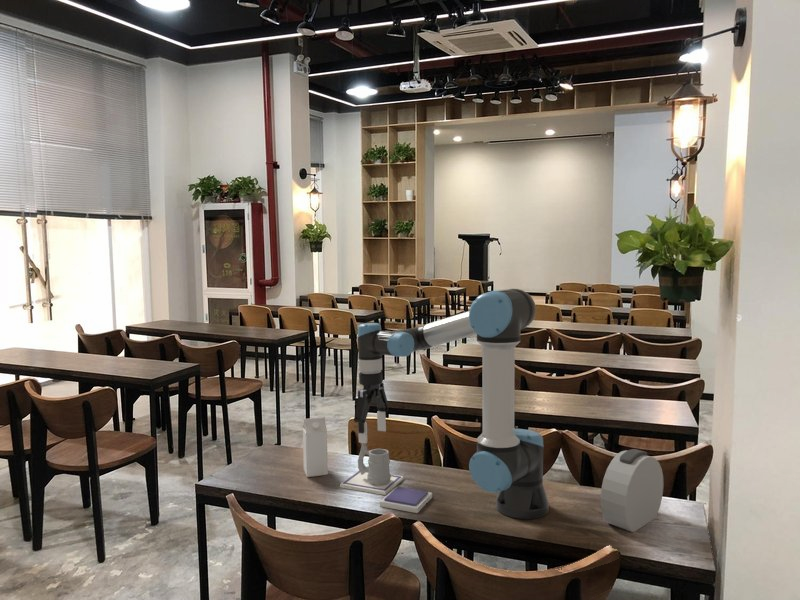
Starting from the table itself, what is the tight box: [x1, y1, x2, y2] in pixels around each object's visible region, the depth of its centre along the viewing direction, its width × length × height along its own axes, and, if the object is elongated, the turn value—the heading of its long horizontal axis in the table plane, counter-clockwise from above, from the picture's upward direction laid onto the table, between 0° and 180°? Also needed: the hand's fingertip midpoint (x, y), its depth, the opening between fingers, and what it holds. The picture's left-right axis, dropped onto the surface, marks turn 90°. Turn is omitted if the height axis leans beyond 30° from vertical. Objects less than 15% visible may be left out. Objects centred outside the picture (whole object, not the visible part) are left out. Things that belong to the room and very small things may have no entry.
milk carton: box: [302, 416, 329, 478], centre depth 208 cm, size 7×7×19 cm
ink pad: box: [379, 486, 433, 514], centre depth 184 cm, size 12×12×2 cm
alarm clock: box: [600, 448, 664, 533], centre depth 170 cm, size 21×8×20 cm, turn 131°
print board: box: [339, 470, 404, 496], centre depth 199 cm, size 16×14×1 cm
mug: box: [357, 443, 391, 486], centre depth 198 cm, size 8×12×12 cm, turn 61°
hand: (372, 436), depth 197 cm, fingers open, 13 cm apart
